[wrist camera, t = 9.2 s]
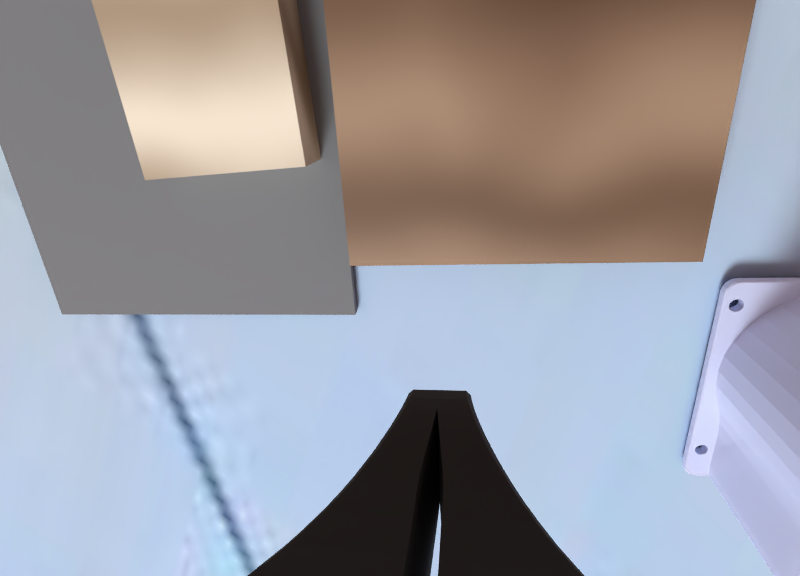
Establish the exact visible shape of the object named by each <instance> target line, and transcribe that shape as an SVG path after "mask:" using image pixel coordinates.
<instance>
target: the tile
mask: <svg viewBox="0 0 800 576" xmlns="http://www.w3.org/2000/svg"><path fill="white" fill-rule="evenodd" d="M91 1H92V4H93V7H94V11H95V14H96V18H97V21H98V24H99V28H100V31H101V34H102V38H103V41H104V44H105V48H106V51H107V54H108V58H109V61H110V64H111V68H112V71H113V75H114V78H115V81H116V85H117V88H118V91H119V95H120V98H121V101H122V105H123V108H124V111H125V115H126V118H127V122H128V125H129V128H130V132H131V135H132V138H133V142H134V145H135V148H136V152H137V155H138V158H139V162H140V165H141V168H142V172H143V175H144V179H145V180H154V179H165V178H177V177H189V176H201V175H213V174H224V173H236V172H248V171H260V170H272V169H283V168H295V167H306V166H308V165H310V164H312V163H314V162H316V161H318V160H320V159H321V154H320V147H319V141H318V134H317V128H316V121H315V115H314V109H313V102H312V96H311V89H310V83H309V76H308V70H307V63H306V57H305V51H304V44H303V38H302V31H301V25H300V18H299V12H298V5H297V0H91Z"/></svg>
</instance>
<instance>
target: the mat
mask: <svg viewBox="0 0 800 576" xmlns="http://www.w3.org/2000/svg"><path fill="white" fill-rule="evenodd" d="M297 5H298V12H299V18H300V25H301V31H302V38H303V44H304V51H305V57H306V63H307V70H308V76H309V83H310V89H311V96H312V102H313V109H314V115H315V121H316V128H317V134H318V141H319V147H320V154H321V159H320V160H318V161H316V162H314V163H312V164H310V165H308V166H306V167H295V168H283V169H272V170H260V171H248V172H236V173H224V174H213V175H201V176H189V177H177V178H165V179H154V180H145V179H144V175H143V172H142V168H141V165H140V162H139V158H138V155H137V152H136V148H135V145H134V142H133V138H132V135H131V132H130V128H129V125H128V122H127V118H126V115H125V111H124V108H123V105H122V101H121V98H120V95H119V91H118V88H117V85H116V81H115V78H114V75H113V71H112V68H111V64H110V61H109V58H108V54H107V51H106V48H105V44H104V41H103V38H102V34H101V31H100V28H99V24H98V21H97V18H96V14H95V11H94V7H93V4H92V1H91V0H0V145H1V148H2V150H3V153H4V156H5V159H6V161H7V164H8V167H9V170H10V172H11V175H12V178H13V181H14V183H15V186H16V189H17V191H18V194H19V197H20V200H21V202H22V205H23V208H24V211H25V213H26V216H27V219H28V222H29V224H30V227H31V230H32V233H33V235H34V238H35V241H36V244H37V246H38V249H39V252H40V255H41V257H42V260H43V263H44V266H45V268H46V271H47V274H48V277H49V279H50V282H51V285H52V287H53V290H54V293H55V296H56V298H57V301H58V304H59V307H60V309H61V312H62V314H307V315H355V314H356V312H357V304H356V294H355V284H354V274H353V266H350V263H349V253H348V243H347V233H346V223H345V213H344V203H343V193H342V183H341V173H340V163H339V153H338V143H337V133H336V123H335V113H334V103H333V93H332V84H331V74H330V64H329V54H328V44H327V34H326V24H325V14H324V4H323V0H297Z"/></svg>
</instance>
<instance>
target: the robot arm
mask: <svg viewBox="0 0 800 576" xmlns="http://www.w3.org/2000/svg"><path fill="white" fill-rule="evenodd" d="M737 299H738V303H737V305H735V306H734V307H730V308H729V305H730V303H731V302H732V301H733V300H737ZM700 445H703V446H702V447H700V448H696V447H698V446H700ZM682 465H683V467H684V469H685V470H686V472H687V473H689V474H691V475H701V476H710V478H711V479H712V481H713V483H714V484H715V486H716V487H717V489H718V490H719V492H720V493H721V495H722V496H723V498H724V499H725V501H726V503H727V504H728V506H729V507H730V509H731V510H732V512H733V513H734V515H735V516H736V518H737V520H738V521H739V523H740V524H741V526H742V527H743V529H744V530H745V532H746V533H747V535H748V537H749V538H750V540H751V541H752V543H753V544H754V546H755V547H756V549H757V550H758V552H759V553H760V555H761V557H762V558H763V560H764V561H765V563H766V564H767V566H768V567H769V569H770V570H771V572H772V574H773V575H774V576H800V278H734V279H731V280H729V281H727V282H726V283H725V284H724V285H723V286H722V288H721V290H720V295H719V299H718V304H717V308H716V312H715V317H714V321H713V326H712V330H711V335H710V339H709V344H708V348H707V352H706V357H705V361H704V366H703V370H702V375H701V379H700V384H699V388H698V392H697V397H696V401H695V406H694V410H693V415H692V419H691V424H690V428H689V432H688V437H687V441H686V446H685V450H684V455H683V459H682ZM439 505H440V511H441V538H440V555H439V570H438V576H584V575H583V574H582V573H581V572H580V570H579V569H578V568H577V567H576V566H575V565H574V564H573V563H572V561H571V560H570V559H569V558H568V557H567V556H566V555H565V554H564V552H563V551H562V550H561V549H560V548H559V547H558V546H557V544H556V543H555V542H554V541H553V539H552V538H551V537H550V536H549V534H548V533H547V532H546V530H545V529H544V528H543V527H542V525H541V524H540V523H539V522H538V520H537V519H536V517H535V516H534V515H533V513H532V512H531V511H530V509H529V508H528V507H527V505H526V504H525V502H524V501H523V499H522V498H521V496H520V495H519V493H518V492H517V490H516V489H515V487H514V486H513V484H512V483H511V481H510V479H509V478H508V476H507V474H506V473H505V471H504V470H503V468H502V466H501V464H500V463H499V461H498V459H497V457H496V455H495V453H494V452H493V450H492V448H491V446H490V444H489V442H488V440H487V438H486V436H485V434H484V432H483V430H482V427H481V425H480V423H479V420H478V418H477V415H476V413H475V410H474V407H473V403H472V400H471V395H470V394H469V393H468V392H467V391H448V390H412V391H411V392H410V393H409V394H408V396H407V399H406V401H405V403H404V404H403V406H402V408H401V410H400V412H399V413H398V415H397V417H396V418H395V420H394V422H393V423H392V425H391V427H390V428H389V430H388V431H387V433H386V434H385V436H384V437H383V438H382V440H381V441H380V443H379V444H378V446H377V447H376V449H375V450H374V451H373V453H372V454H371V455H370V457H369V458H368V459H367V460H366V462H365V463H364V464H363V466H362V467H361V468H360V469H359V471H358V472H357V473H356V475H355V476H354V477H353V478H352V479H351V481H350V482H349V483H348V484H347V485H346V486H345V487H344V489H343V490H342V491H341V492H340V493H339V494H338V495H337V496H336V497H335V498H334V499H333V501H332V502H331V503H330V504H329V505H328V506H327V507H326V508H325V509H324V510H323V511H322V512H321V513H320V514H319V515H318V516H317V517H316V518H315V519H314V520H313V521H311V522H310V523H309V524H308V525H307V526H306V527H305V528H304V529H303V530H302V531H301V532H300V533H299V534H298V535H297V536H295V537H294V538H293V539H292V540H291V541H290V542H289V543H288V544H286V545H285V546H284V547H283V548H282V549H280V550H279V551H278V552H277V553H275V554H274V555H273V556H272V557H270V558H269V559H268V560H267V561H265V562H264V563H263V564H262V565H260V566H259V567H258V568H257V569H255V570H254V571H253V572H252V573H250V574H249V575H248V576H430V573H431V565H432V558H433V550H434V543H435V535H436V528H437V520H438V513H439Z"/></svg>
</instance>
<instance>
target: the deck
mask: <svg viewBox="0 0 800 576" xmlns="http://www.w3.org/2000/svg"><path fill="white" fill-rule="evenodd" d="M755 3H756V0H323V4H324V14H325V24H326V34H327V44H328V54H329V64H330V74H331V84H332V93H333V103H334V113H335V123H336V133H337V143H338V153H339V163H340V173H341V183H342V193H343V203H344V213H345V223H346V233H347V243H348V253H349V263H350V266H373V265H457V264H541V263H625V262H703V258H704V253H705V248H706V243H707V238H708V233H709V228H710V223H711V218H712V213H713V209H714V204H715V199H716V194H717V189H718V184H719V179H720V174H721V169H722V164H723V160H724V155H725V150H726V145H727V140H728V135H729V130H730V125H731V120H732V115H733V111H734V106H735V101H736V96H737V91H738V86H739V81H740V76H741V71H742V66H743V62H744V57H745V52H746V47H747V42H748V37H749V32H750V27H751V22H752V17H753V13H754V8H755Z"/></svg>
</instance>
